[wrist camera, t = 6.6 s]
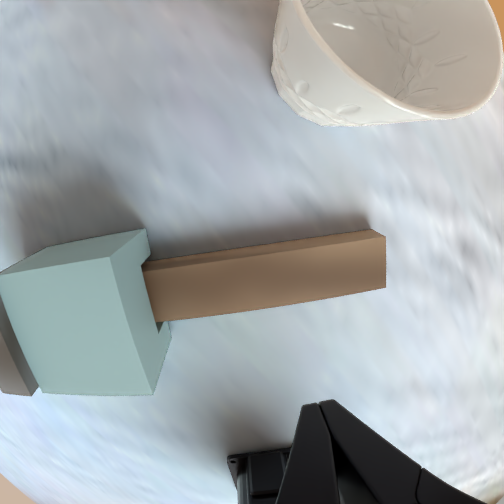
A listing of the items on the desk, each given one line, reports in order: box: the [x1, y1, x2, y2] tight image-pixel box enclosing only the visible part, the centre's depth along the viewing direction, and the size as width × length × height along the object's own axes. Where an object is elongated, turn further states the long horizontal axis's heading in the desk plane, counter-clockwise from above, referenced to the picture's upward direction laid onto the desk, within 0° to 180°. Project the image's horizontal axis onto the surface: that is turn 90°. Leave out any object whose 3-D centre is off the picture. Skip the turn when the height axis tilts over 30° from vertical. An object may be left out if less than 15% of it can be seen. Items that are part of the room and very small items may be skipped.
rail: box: [0, 229, 386, 396], centre depth 16 cm, size 6×22×7 cm, turn 98°
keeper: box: [0, 228, 172, 396], centre depth 16 cm, size 7×7×6 cm
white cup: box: [271, 0, 503, 127], centre depth 11 cm, size 8×8×10 cm
